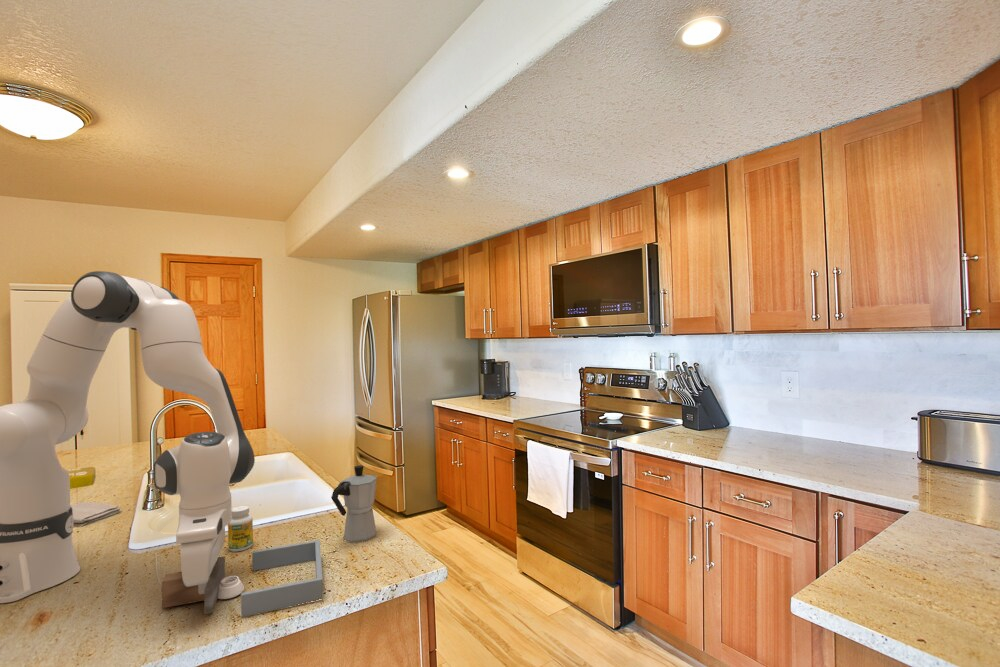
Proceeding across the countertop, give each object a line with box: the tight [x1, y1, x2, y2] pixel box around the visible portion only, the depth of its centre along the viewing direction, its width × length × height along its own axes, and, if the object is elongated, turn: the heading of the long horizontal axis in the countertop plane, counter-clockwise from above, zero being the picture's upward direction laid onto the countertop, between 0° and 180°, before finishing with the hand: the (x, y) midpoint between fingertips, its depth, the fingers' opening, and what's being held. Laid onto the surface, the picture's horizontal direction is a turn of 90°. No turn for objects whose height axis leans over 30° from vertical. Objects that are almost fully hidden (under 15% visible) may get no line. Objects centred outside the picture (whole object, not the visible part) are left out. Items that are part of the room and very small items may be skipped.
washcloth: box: [70, 501, 122, 528], centre depth 140 cm, size 12×18×3 cm, turn 79°
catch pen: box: [240, 539, 324, 618], centre depth 99 cm, size 14×20×4 cm
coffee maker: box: [331, 464, 378, 544], centre depth 122 cm, size 15×9×18 cm, turn 149°
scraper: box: [160, 555, 226, 615], centre depth 92 cm, size 9×14×5 cm, turn 22°
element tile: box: [66, 466, 96, 490], centre depth 173 cm, size 15×15×5 cm
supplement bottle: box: [227, 505, 254, 553], centre depth 117 cm, size 5×5×10 cm
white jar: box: [217, 575, 245, 600], centre depth 95 cm, size 5×3×5 cm
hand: (207, 586), depth 93 cm, fingers closed on scraper, 3 cm apart
